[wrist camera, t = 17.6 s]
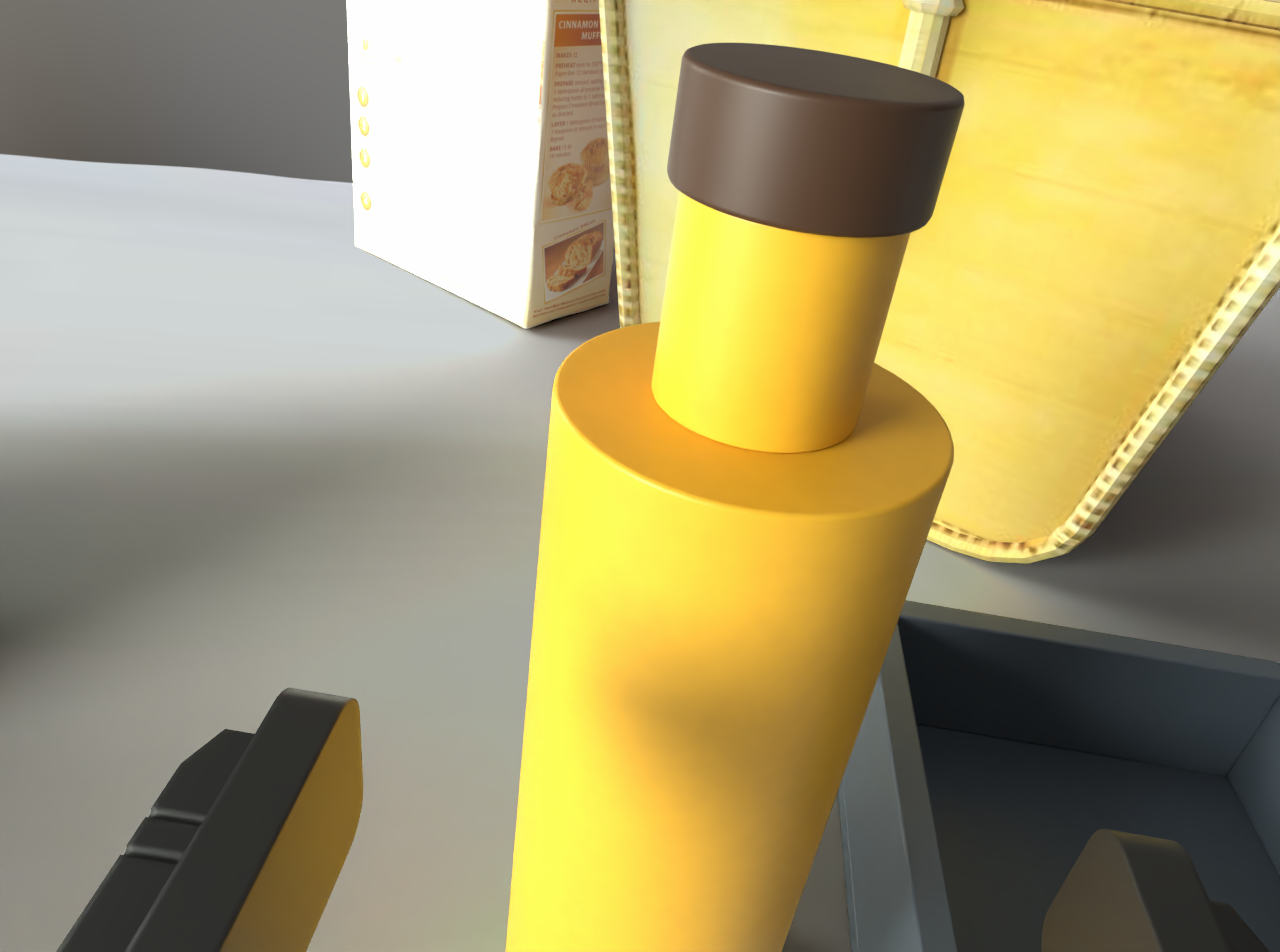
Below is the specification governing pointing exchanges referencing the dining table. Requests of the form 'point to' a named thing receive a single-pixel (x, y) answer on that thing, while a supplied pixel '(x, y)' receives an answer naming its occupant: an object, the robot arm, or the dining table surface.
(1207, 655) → the tub
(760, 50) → the bottle
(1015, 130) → the picnic basket
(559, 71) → the coffeecake box
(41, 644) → the dining table surface
